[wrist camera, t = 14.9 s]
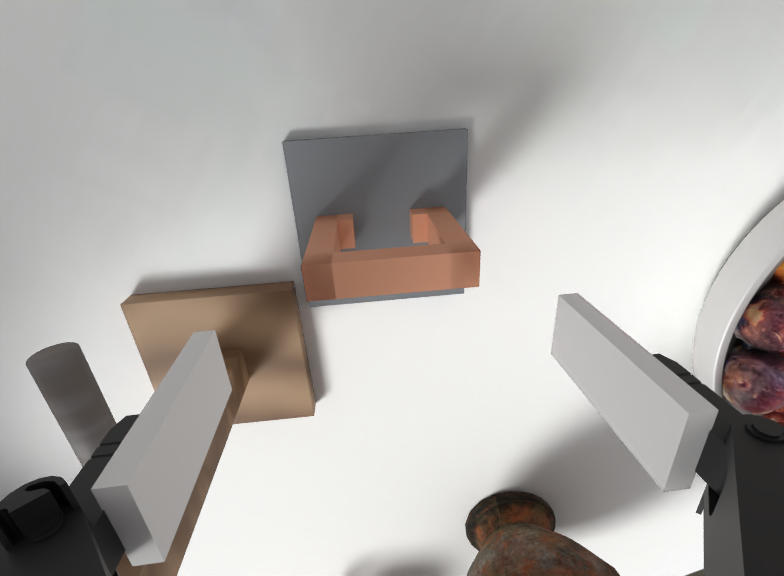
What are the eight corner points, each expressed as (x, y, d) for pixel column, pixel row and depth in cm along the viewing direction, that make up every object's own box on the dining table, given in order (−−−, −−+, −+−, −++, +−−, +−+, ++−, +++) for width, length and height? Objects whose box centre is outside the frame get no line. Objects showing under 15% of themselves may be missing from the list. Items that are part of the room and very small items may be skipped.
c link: (320, 243, 29) (306, 301, 21) (316, 216, 28) (300, 265, 20) (444, 233, 29) (479, 286, 21) (444, 206, 28) (480, 250, 20)
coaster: (310, 303, 32) (309, 307, 31) (283, 141, 26) (282, 142, 26) (462, 290, 32) (463, 293, 32) (465, 128, 27) (467, 129, 26)
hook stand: (315, 403, 36) (267, 784, 16) (177, 417, 35) (-50, 830, 15) (283, 223, 29) (122, 512, 9) (108, 237, 28) (-480, 580, 8)
